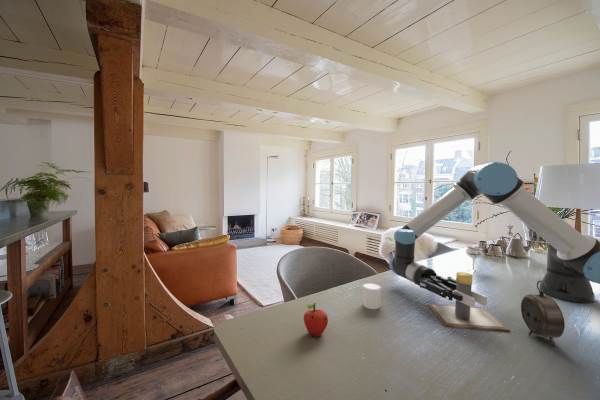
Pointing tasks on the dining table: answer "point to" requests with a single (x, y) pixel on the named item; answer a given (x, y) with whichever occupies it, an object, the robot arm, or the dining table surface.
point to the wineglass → (474, 255)
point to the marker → (465, 287)
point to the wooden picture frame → (477, 319)
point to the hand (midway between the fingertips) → (479, 302)
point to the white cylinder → (371, 295)
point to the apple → (315, 321)
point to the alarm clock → (542, 315)
